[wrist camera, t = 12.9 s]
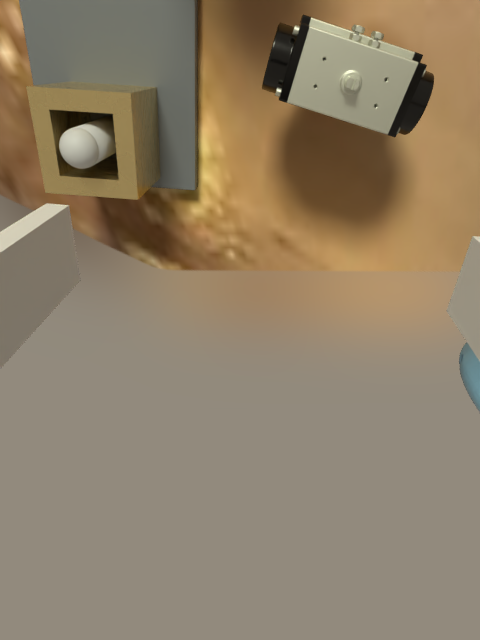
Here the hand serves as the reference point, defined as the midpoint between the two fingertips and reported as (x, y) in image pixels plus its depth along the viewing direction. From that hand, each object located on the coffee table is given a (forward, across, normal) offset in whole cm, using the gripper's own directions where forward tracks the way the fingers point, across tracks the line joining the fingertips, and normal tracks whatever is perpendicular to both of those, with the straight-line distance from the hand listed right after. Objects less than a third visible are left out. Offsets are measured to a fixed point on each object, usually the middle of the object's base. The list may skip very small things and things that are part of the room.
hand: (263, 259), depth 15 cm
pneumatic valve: (+32, -5, -5) cm, 33 cm away
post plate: (+32, +15, -5) cm, 35 cm away
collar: (+30, +15, +1) cm, 34 cm away
